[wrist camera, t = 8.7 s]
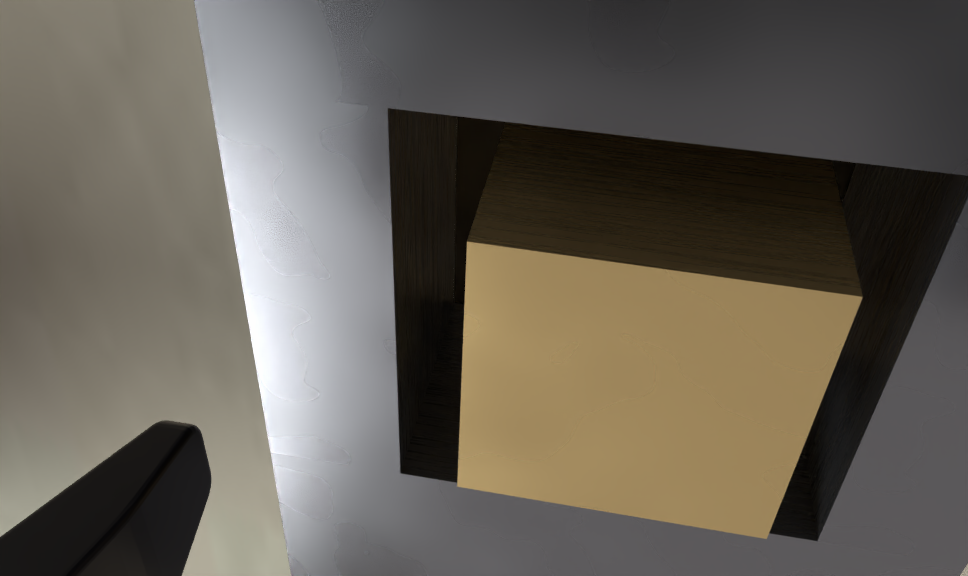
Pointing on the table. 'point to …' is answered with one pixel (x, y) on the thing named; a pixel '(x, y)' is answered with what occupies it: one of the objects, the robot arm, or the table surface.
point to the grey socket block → (440, 322)
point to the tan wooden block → (650, 324)
